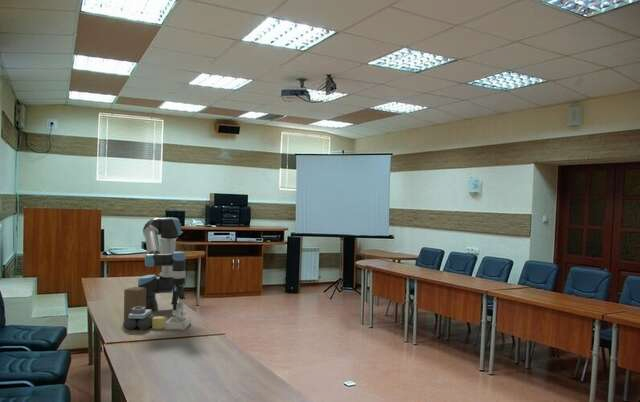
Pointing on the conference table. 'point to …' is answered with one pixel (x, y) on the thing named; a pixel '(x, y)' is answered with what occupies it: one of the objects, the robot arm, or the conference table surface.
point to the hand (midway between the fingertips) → (178, 312)
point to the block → (133, 299)
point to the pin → (178, 314)
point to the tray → (177, 324)
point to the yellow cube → (158, 322)
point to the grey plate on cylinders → (139, 318)
